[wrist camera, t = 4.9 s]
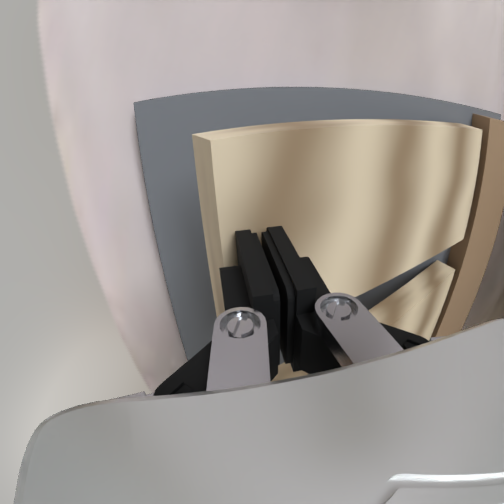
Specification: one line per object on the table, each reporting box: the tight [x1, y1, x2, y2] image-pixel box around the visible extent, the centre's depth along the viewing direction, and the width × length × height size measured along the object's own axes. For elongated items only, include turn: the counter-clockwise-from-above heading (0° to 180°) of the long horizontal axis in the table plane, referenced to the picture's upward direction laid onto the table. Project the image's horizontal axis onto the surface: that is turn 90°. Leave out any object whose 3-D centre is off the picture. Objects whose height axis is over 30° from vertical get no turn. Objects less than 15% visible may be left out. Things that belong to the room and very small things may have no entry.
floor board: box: [134, 87, 504, 364], centre depth 22 cm, size 28×24×4 cm
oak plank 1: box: [192, 119, 482, 317], centre depth 16 cm, size 20×9×2 cm, turn 93°
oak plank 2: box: [271, 260, 455, 382], centre depth 21 cm, size 20×9×2 cm, turn 93°
